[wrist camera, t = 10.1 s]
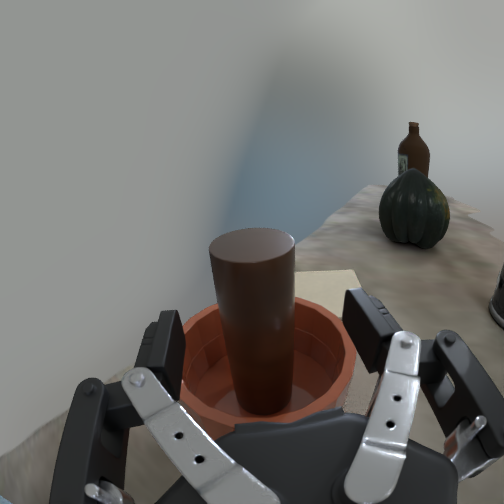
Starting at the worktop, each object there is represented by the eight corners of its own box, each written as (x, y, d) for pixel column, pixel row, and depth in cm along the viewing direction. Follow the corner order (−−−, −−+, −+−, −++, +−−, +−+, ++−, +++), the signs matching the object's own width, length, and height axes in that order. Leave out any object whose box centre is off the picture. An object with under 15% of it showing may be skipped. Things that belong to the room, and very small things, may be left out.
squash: (428, 237, 35) (450, 163, 36) (355, 217, 47) (382, 154, 48) (439, 269, 44) (459, 206, 44) (381, 248, 56) (403, 193, 56)
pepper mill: (291, 372, 23) (292, 226, 17) (292, 415, 19) (297, 260, 13) (239, 372, 24) (217, 229, 18) (232, 414, 19) (199, 263, 13)
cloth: (353, 271, 39) (353, 269, 39) (373, 316, 30) (373, 314, 29) (281, 274, 41) (281, 272, 40) (281, 322, 31) (281, 319, 31)
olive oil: (418, 197, 78) (420, 124, 68) (431, 206, 69) (435, 125, 58) (391, 195, 80) (392, 120, 69) (402, 204, 70) (405, 120, 60)
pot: (331, 341, 27) (338, 291, 24) (350, 459, 15) (373, 420, 12) (204, 343, 28) (193, 294, 26) (171, 453, 16) (140, 414, 13)
